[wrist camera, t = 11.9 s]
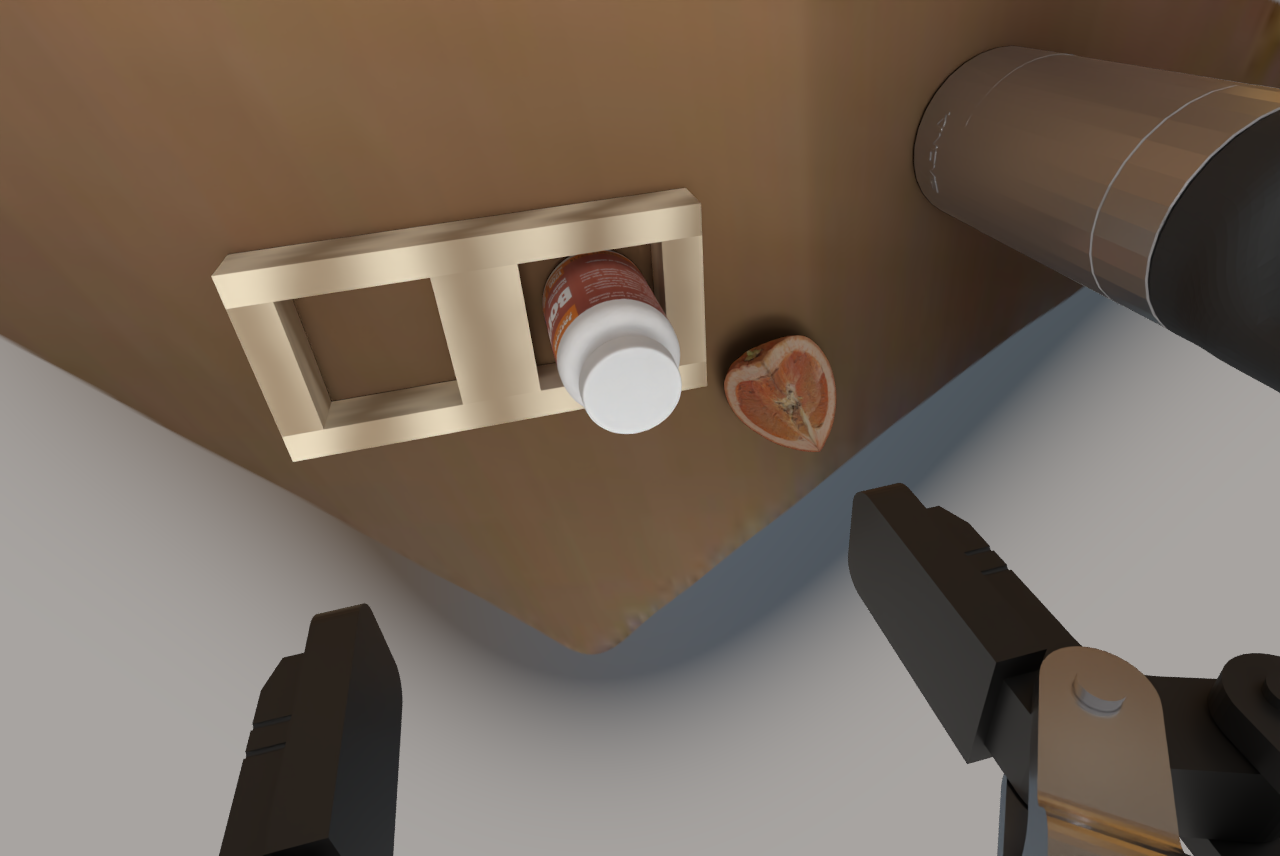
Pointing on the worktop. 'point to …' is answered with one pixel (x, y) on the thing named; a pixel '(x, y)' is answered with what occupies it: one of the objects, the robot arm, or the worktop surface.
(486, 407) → the rail
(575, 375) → the pill bottle
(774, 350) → the fruit slice
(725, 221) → the worktop surface
